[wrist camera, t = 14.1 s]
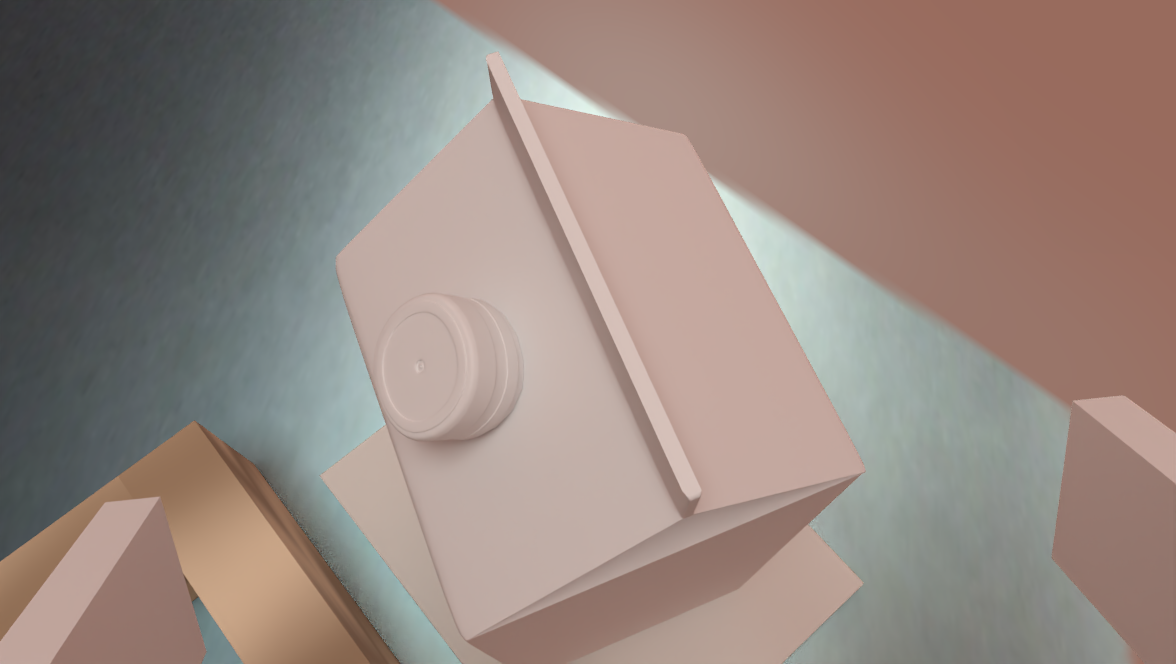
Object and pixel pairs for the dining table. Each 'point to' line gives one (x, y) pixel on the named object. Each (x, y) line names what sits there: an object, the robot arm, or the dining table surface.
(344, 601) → the frame
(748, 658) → the pink mat
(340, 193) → the dining table surface
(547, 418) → the milk carton
